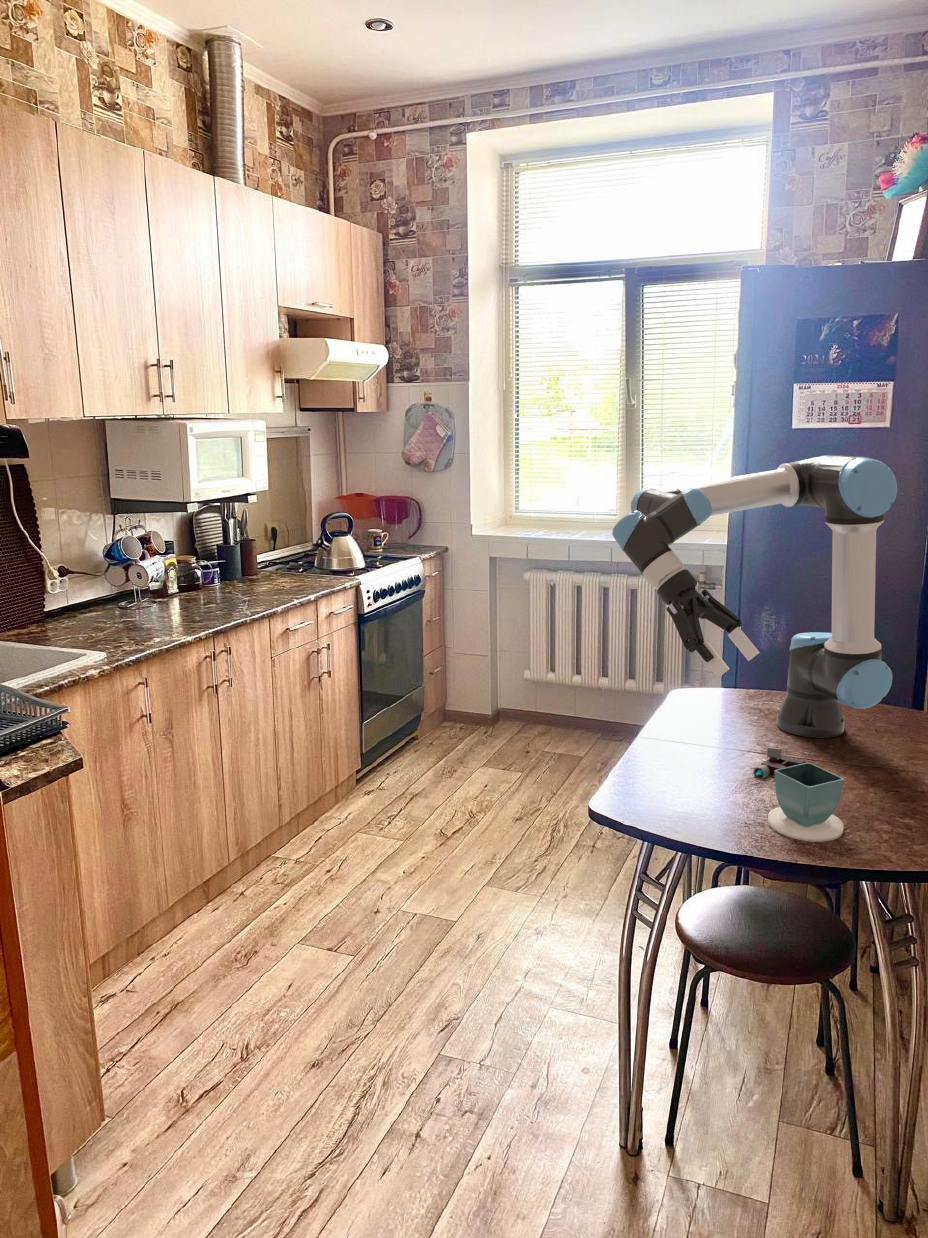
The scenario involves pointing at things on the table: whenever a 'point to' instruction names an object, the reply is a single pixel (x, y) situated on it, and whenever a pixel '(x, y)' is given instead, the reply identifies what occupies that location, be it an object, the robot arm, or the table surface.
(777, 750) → the toy gun
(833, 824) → the saucer
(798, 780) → the flower pot
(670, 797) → the table surface
